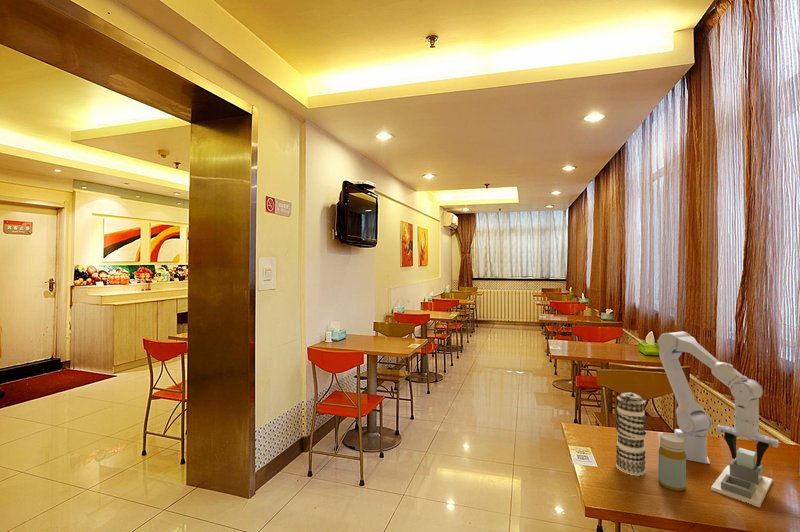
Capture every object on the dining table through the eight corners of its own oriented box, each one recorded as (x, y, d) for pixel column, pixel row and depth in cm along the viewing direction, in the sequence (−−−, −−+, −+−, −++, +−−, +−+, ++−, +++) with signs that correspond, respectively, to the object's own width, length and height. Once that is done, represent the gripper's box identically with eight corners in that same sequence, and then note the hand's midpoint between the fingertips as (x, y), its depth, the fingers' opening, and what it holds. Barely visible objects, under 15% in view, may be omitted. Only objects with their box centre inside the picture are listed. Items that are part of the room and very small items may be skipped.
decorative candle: (618, 474, 129) (619, 398, 128) (611, 460, 138) (612, 389, 137) (650, 478, 126) (651, 400, 126) (641, 464, 135) (641, 391, 135)
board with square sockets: (759, 507, 111) (759, 490, 111) (711, 490, 120) (711, 473, 120) (772, 482, 124) (772, 466, 124) (727, 468, 132) (727, 453, 132)
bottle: (677, 494, 117) (678, 444, 117) (653, 482, 124) (653, 435, 123) (690, 488, 121) (690, 439, 120) (666, 477, 127) (666, 430, 127)
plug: (753, 475, 122) (753, 456, 122) (736, 470, 125) (736, 451, 125) (756, 470, 125) (756, 451, 125) (739, 465, 128) (740, 447, 128)
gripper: (714, 415, 128) (714, 456, 128) (775, 429, 117) (775, 475, 117) (720, 409, 132) (719, 450, 133) (779, 423, 121) (779, 467, 121)
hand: (746, 461), depth 125 cm, fingers open, 5 cm apart
